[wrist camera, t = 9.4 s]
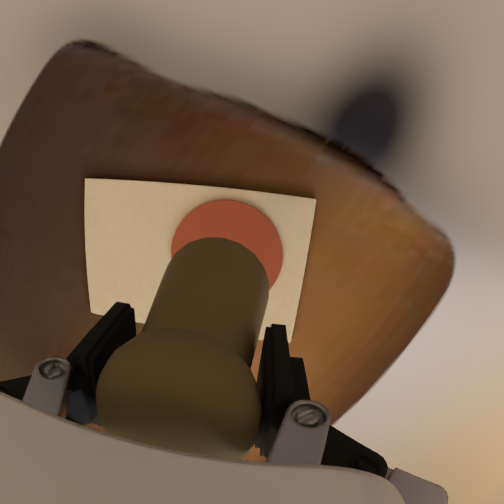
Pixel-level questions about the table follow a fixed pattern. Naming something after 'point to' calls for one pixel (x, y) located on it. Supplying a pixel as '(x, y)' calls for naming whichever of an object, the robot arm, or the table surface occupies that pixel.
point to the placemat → (190, 239)
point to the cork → (193, 357)
